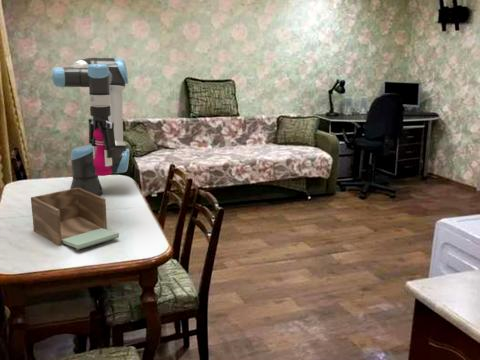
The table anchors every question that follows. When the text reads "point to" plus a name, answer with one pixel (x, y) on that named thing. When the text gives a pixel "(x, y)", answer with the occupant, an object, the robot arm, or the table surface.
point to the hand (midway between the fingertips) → (102, 163)
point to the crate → (68, 214)
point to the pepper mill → (100, 155)
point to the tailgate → (90, 238)
